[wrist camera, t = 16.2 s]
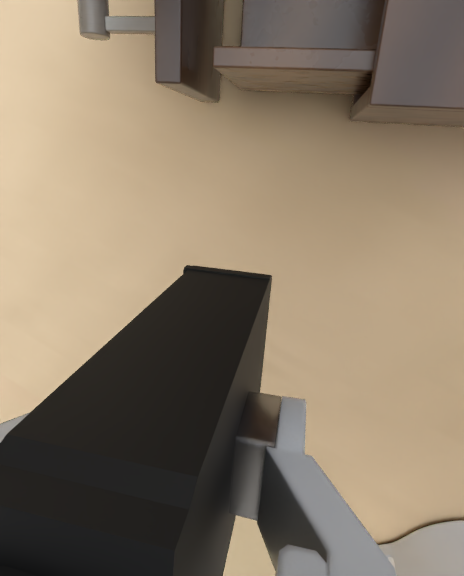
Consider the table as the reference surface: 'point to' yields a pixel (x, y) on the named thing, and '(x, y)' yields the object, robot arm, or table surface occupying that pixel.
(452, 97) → the cabinet
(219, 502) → the ink cartridge
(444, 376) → the table surface
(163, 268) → the table surface
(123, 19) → the drawer
